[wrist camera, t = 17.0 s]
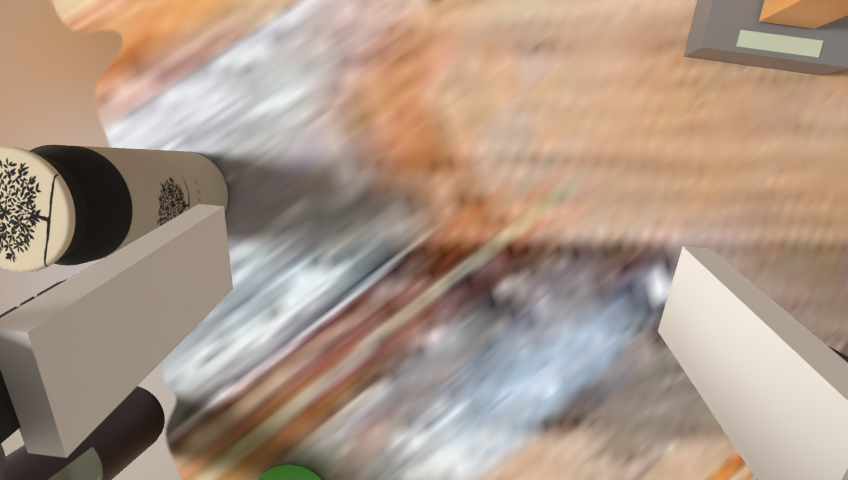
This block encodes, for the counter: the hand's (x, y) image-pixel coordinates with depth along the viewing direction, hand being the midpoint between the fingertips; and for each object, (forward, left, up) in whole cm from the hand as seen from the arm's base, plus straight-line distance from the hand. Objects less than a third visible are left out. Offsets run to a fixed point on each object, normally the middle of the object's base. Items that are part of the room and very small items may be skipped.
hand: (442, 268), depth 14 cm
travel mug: (-10, -24, -30) cm, 40 cm away
